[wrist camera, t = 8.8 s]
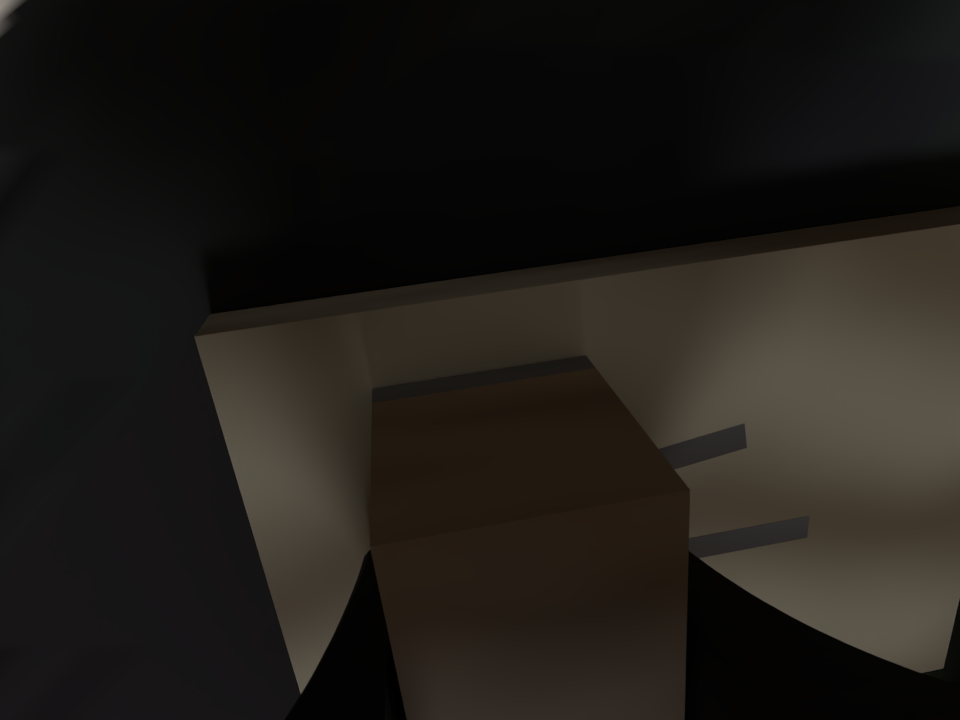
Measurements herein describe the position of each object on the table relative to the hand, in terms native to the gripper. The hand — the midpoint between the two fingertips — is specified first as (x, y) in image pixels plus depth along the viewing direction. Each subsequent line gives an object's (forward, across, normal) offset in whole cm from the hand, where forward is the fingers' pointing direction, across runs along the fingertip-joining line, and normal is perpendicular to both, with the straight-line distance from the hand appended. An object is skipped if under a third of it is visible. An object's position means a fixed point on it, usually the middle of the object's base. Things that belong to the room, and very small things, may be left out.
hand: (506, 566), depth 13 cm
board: (+2, -3, 0) cm, 4 cm away
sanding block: (+1, 0, 0) cm, 1 cm away
